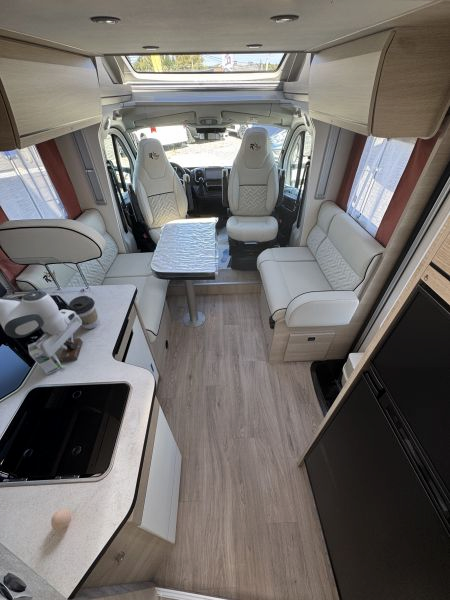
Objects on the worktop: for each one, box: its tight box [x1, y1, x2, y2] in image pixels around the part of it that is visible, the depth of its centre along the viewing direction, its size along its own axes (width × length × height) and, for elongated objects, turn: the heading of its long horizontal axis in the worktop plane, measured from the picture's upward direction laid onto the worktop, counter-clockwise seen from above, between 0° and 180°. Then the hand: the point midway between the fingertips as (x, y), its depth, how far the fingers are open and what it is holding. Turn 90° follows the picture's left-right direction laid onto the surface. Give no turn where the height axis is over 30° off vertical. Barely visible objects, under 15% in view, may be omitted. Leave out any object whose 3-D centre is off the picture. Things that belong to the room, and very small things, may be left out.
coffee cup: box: [67, 295, 100, 330], centre depth 122 cm, size 11×11×15 cm
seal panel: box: [59, 337, 84, 363], centre depth 114 cm, size 10×9×3 cm
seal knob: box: [64, 341, 76, 350], centre depth 112 cm, size 5×2×4 cm, turn 74°
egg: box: [50, 508, 72, 531], centre depth 69 cm, size 4×4×6 cm
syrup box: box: [27, 341, 63, 376], centre depth 104 cm, size 6×6×14 cm
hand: (69, 345), depth 112 cm, fingers closed on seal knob, 2 cm apart
